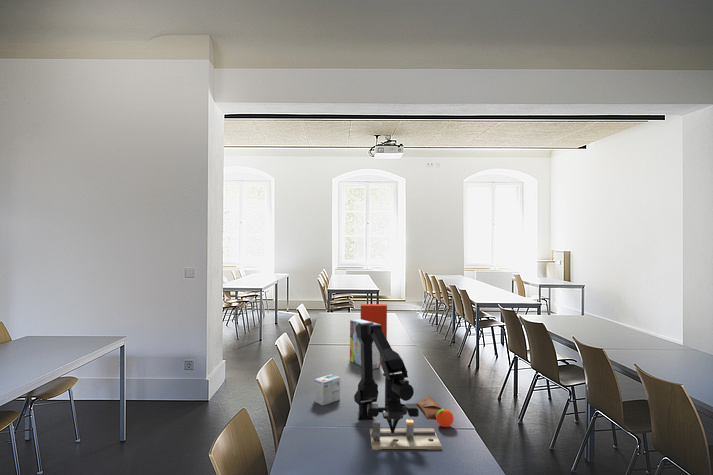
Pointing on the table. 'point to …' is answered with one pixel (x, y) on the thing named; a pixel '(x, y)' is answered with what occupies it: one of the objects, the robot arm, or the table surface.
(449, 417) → the clementine
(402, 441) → the board
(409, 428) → the slider
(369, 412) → the robot arm
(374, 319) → the file binder
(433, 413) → the sunglasses case
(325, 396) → the light bulb box
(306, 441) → the table surface
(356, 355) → the snack box
